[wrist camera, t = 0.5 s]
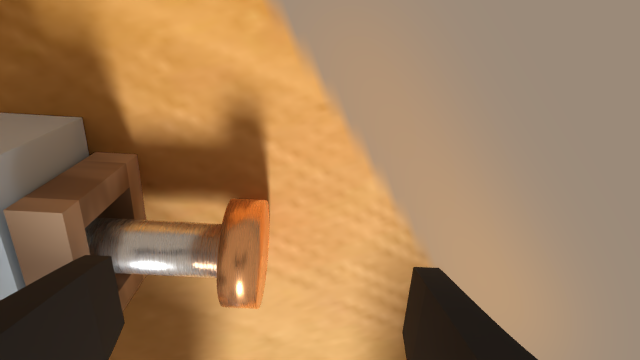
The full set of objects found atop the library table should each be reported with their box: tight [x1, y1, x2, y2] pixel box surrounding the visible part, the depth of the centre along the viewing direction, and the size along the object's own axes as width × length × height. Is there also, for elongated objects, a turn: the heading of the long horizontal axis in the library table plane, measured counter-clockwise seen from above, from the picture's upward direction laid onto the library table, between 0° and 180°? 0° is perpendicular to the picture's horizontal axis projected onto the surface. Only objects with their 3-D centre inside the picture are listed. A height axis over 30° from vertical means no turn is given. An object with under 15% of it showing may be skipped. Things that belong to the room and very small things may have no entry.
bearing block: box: [0, 113, 89, 300], centre depth 17 cm, size 10×4×6 cm, turn 177°
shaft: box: [85, 199, 269, 309], centre depth 17 cm, size 11×5×5 cm, turn 87°
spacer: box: [3, 152, 146, 312], centre depth 17 cm, size 7×2×6 cm, turn 177°
